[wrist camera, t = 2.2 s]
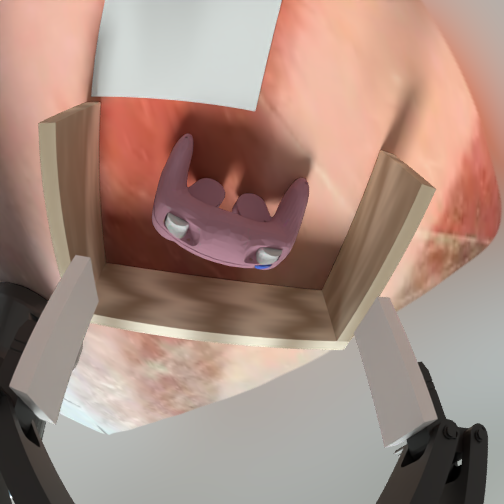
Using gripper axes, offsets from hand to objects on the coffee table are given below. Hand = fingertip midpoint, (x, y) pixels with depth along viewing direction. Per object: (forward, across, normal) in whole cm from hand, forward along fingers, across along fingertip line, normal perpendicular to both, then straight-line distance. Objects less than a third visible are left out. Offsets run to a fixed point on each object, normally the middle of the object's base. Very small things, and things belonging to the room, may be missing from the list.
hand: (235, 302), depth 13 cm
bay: (+10, -1, -2) cm, 11 cm away
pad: (+10, -6, +12) cm, 17 cm away
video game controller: (+11, 0, 0) cm, 11 cm away
